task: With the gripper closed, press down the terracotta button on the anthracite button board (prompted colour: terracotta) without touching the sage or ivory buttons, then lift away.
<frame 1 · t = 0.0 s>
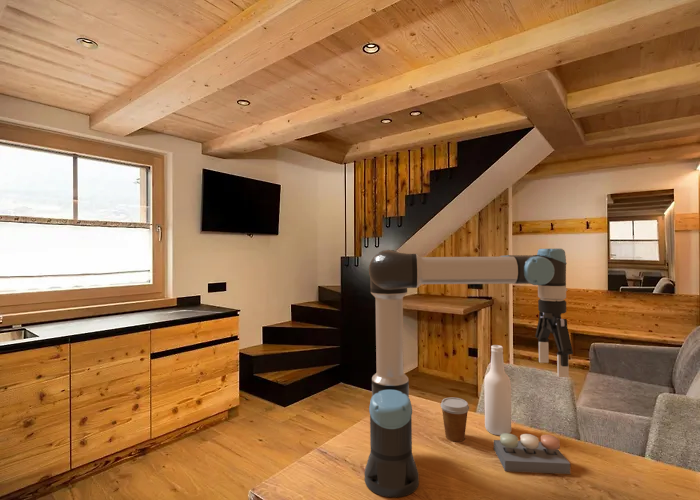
hand: (552, 369, 114), 28 cm above the table, fingers open, 13 cm apart
terracotta button: (550, 446, 114), point 5 cm above the table, slide at 0.0 cm
disposable coffee cup: (455, 437, 129), on the table
button board: (529, 460, 115), on the table
sage button: (509, 445, 115), point 5 cm above the table, slide at 0.0 cm
ivory button: (529, 446, 115), point 5 cm above the table, slide at 0.0 cm
alcohol: (498, 430, 134), on the table
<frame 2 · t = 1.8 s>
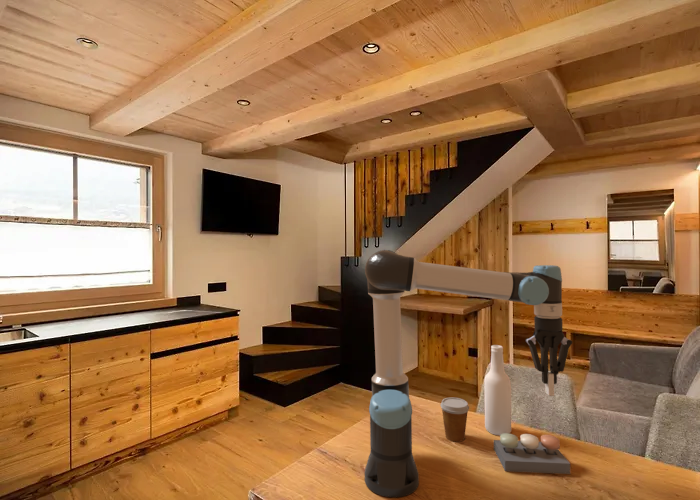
hand: (549, 394, 114), 21 cm above the table, fingers closed
nothing on the table moved.
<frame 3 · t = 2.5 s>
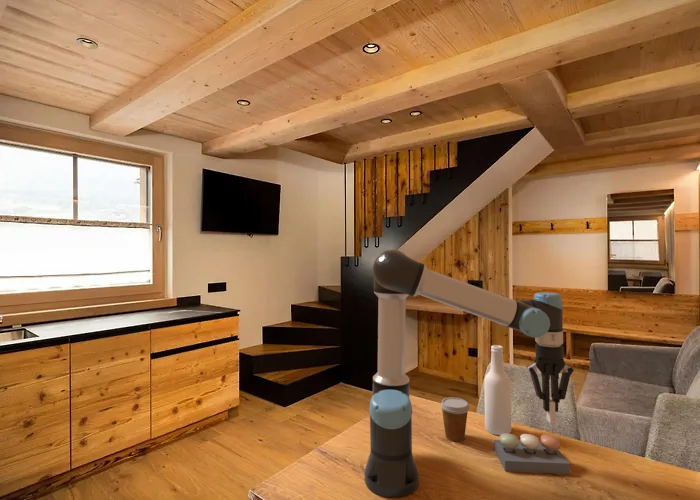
hand: (551, 421, 114), 12 cm above the table, fingers closed
nothing on the table moved.
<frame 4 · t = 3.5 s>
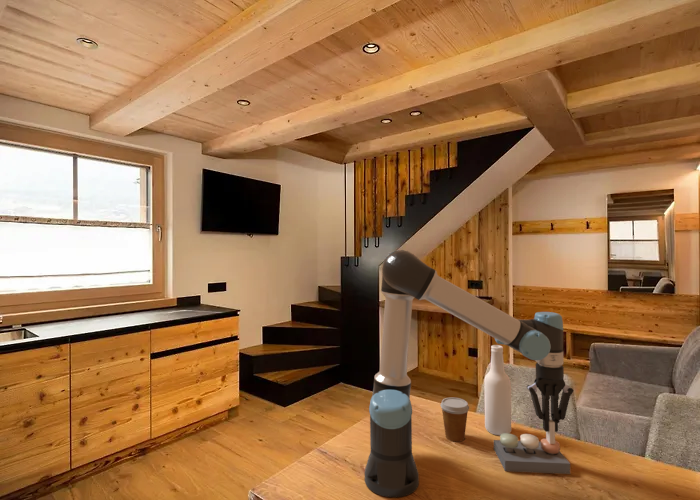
hand: (550, 441, 114), 6 cm above the table, fingers closed
terracotta button: (550, 450, 114), point 3 cm above the table, slide at 1.2 cm, touching gripper
everything else where it was.
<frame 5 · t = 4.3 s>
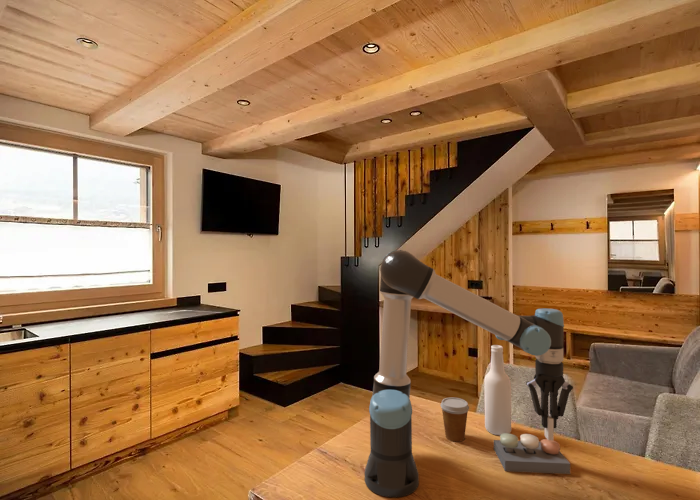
hand: (549, 438, 114), 7 cm above the table, fingers closed
terracotta button: (550, 451, 114), point 3 cm above the table, slide at 1.4 cm
everything else where it was.
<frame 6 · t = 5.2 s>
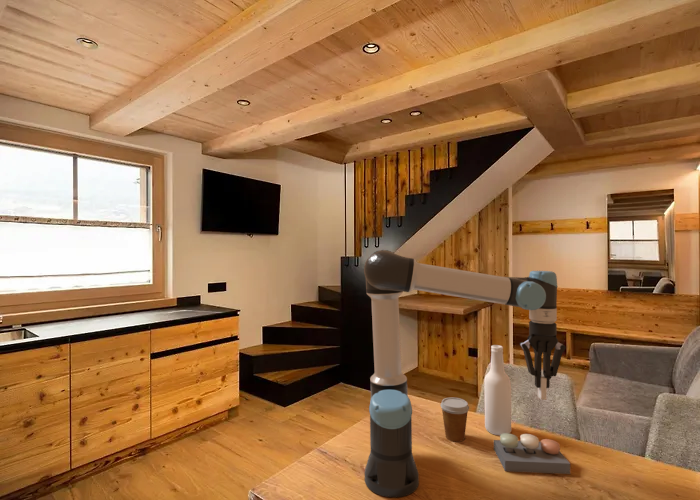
hand: (542, 397, 115), 19 cm above the table, fingers closed
nothing on the table moved.
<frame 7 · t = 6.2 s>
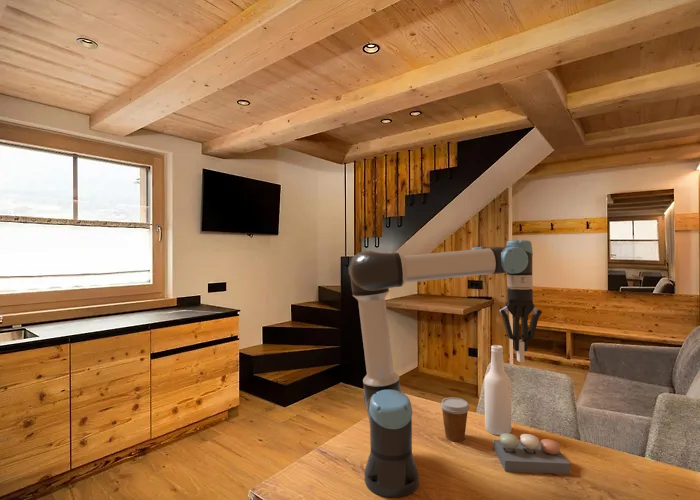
hand: (520, 360, 121), 28 cm above the table, fingers closed
nothing on the table moved.
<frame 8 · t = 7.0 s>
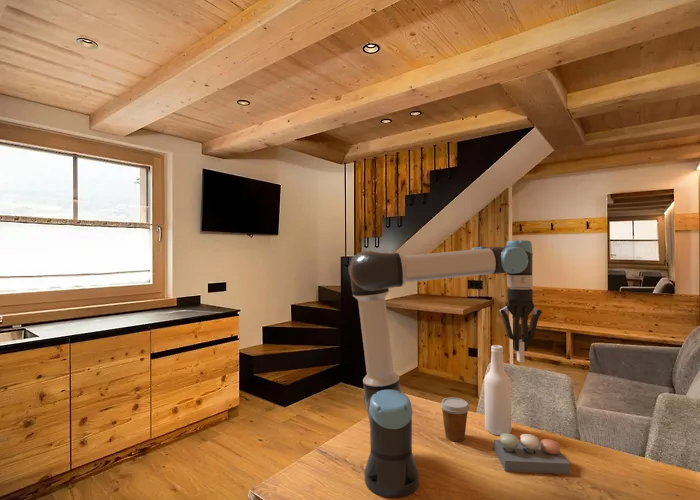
hand: (520, 360, 121), 28 cm above the table, fingers closed
nothing on the table moved.
at the end: terracotta button slide at 1.4 cm; sage button slide at 0.0 cm; ivory button slide at 0.0 cm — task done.
